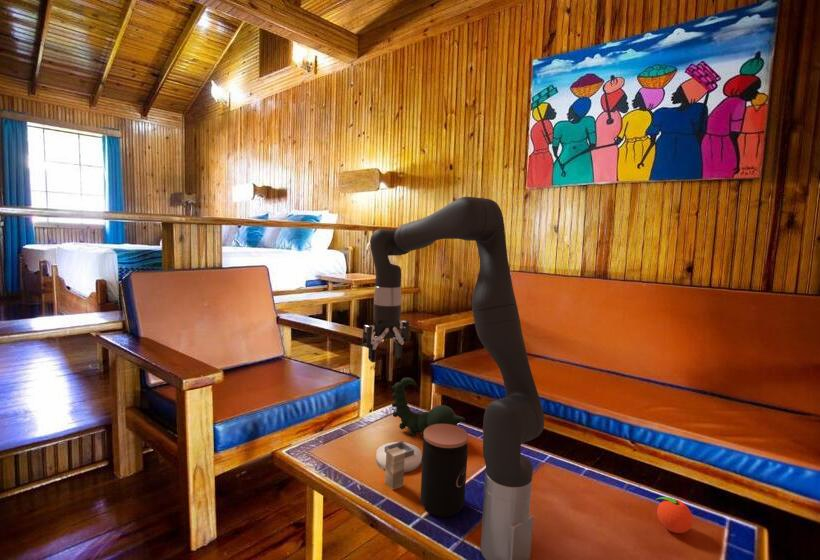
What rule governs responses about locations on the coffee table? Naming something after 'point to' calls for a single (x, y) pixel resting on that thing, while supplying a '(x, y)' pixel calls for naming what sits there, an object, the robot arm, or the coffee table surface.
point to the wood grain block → (394, 468)
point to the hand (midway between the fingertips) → (385, 359)
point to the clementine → (674, 515)
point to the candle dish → (411, 455)
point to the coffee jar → (444, 469)
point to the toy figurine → (417, 420)
